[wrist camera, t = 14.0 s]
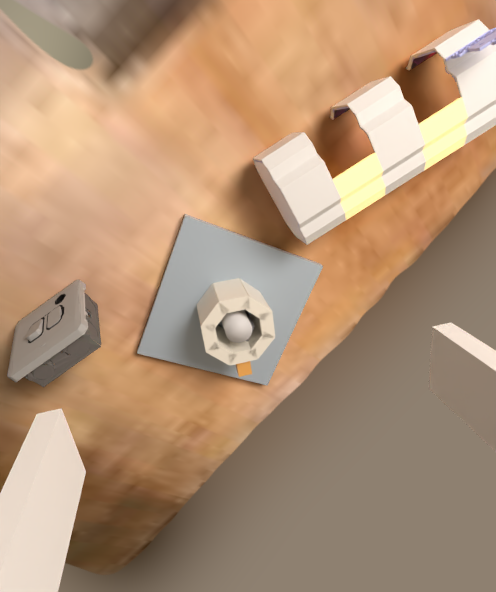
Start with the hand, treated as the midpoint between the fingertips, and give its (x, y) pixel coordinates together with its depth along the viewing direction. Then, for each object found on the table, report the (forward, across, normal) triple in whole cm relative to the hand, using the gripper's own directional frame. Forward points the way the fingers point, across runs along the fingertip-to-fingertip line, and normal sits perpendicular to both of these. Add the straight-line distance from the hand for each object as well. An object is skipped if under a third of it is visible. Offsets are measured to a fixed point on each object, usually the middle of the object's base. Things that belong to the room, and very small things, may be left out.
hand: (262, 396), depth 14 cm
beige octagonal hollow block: (+33, +2, -13) cm, 36 cm away
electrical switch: (+35, -17, -9) cm, 40 cm away
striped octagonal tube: (+35, +21, +6) cm, 41 cm away
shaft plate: (+35, +2, -12) cm, 37 cm away
